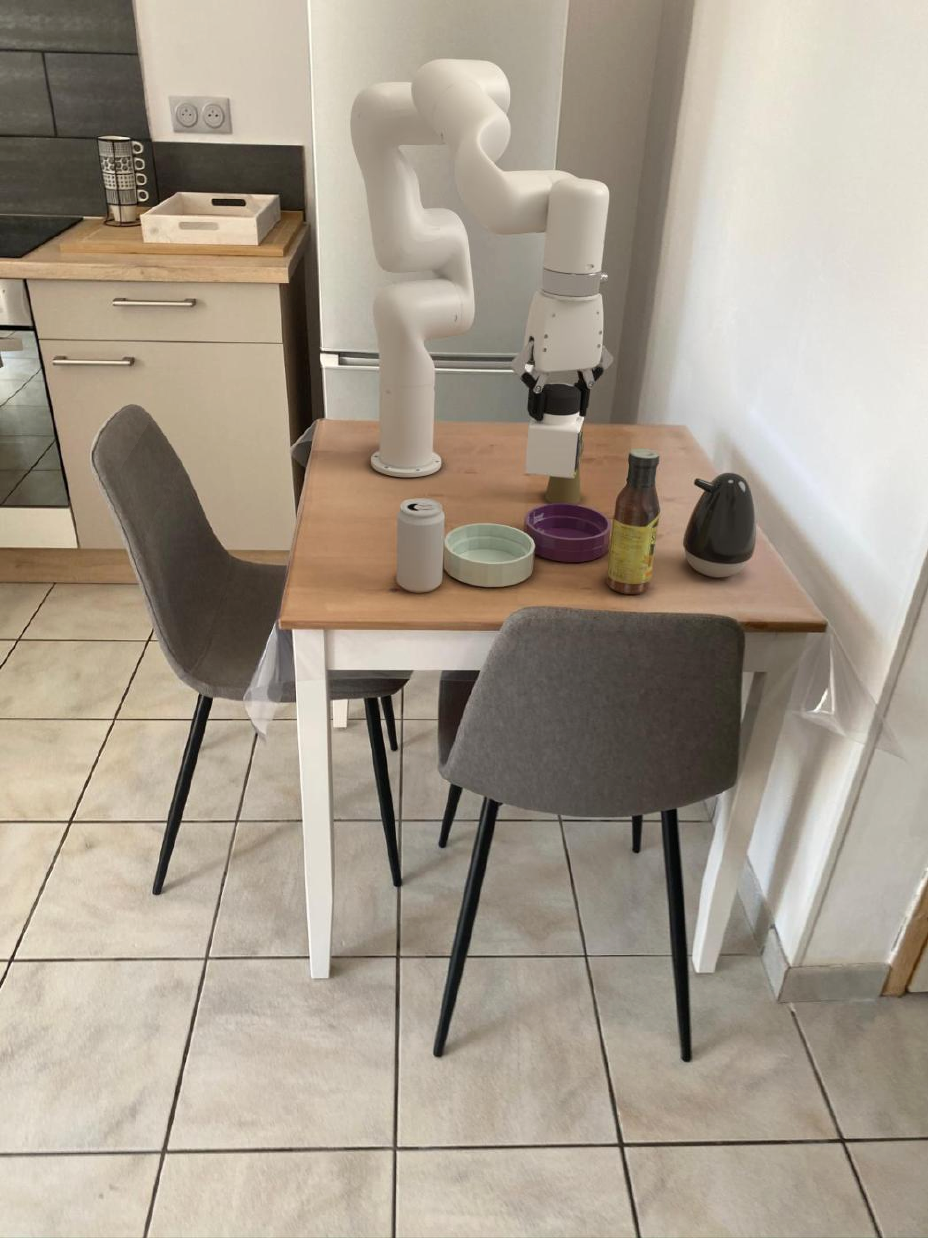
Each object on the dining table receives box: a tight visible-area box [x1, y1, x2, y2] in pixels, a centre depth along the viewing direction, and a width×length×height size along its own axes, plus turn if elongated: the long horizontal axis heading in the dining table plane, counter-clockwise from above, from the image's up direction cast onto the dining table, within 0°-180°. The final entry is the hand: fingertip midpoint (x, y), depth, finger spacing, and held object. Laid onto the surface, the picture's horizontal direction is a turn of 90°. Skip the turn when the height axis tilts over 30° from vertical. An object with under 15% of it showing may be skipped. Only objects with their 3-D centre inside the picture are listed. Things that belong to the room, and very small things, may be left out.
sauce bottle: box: [606, 447, 661, 595], centre depth 132 cm, size 7×6×20 cm
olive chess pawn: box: [544, 440, 585, 505], centre depth 159 cm, size 6×6×11 cm
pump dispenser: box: [682, 471, 757, 578], centre depth 138 cm, size 10×10×15 cm
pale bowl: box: [443, 522, 536, 588], centre depth 139 cm, size 13×13×4 cm
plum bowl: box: [522, 503, 612, 563], centre depth 146 cm, size 13×13×4 cm
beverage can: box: [396, 497, 446, 594], centre depth 131 cm, size 6×6×12 cm
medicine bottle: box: [524, 382, 585, 479], centre depth 135 cm, size 7×7×12 cm
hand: (557, 414), depth 134 cm, fingers closed on medicine bottle, 6 cm apart
